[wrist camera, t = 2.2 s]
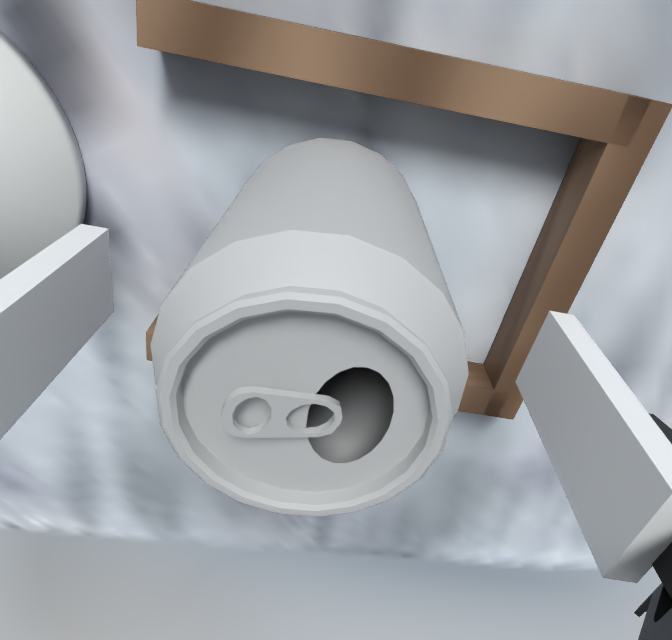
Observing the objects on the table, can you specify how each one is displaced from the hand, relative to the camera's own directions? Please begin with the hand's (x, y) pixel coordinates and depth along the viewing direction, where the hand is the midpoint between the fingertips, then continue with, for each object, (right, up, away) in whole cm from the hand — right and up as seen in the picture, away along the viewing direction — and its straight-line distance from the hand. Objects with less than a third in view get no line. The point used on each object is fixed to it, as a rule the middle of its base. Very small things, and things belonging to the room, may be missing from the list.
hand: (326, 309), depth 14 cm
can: (0, +4, +6) cm, 7 cm away
